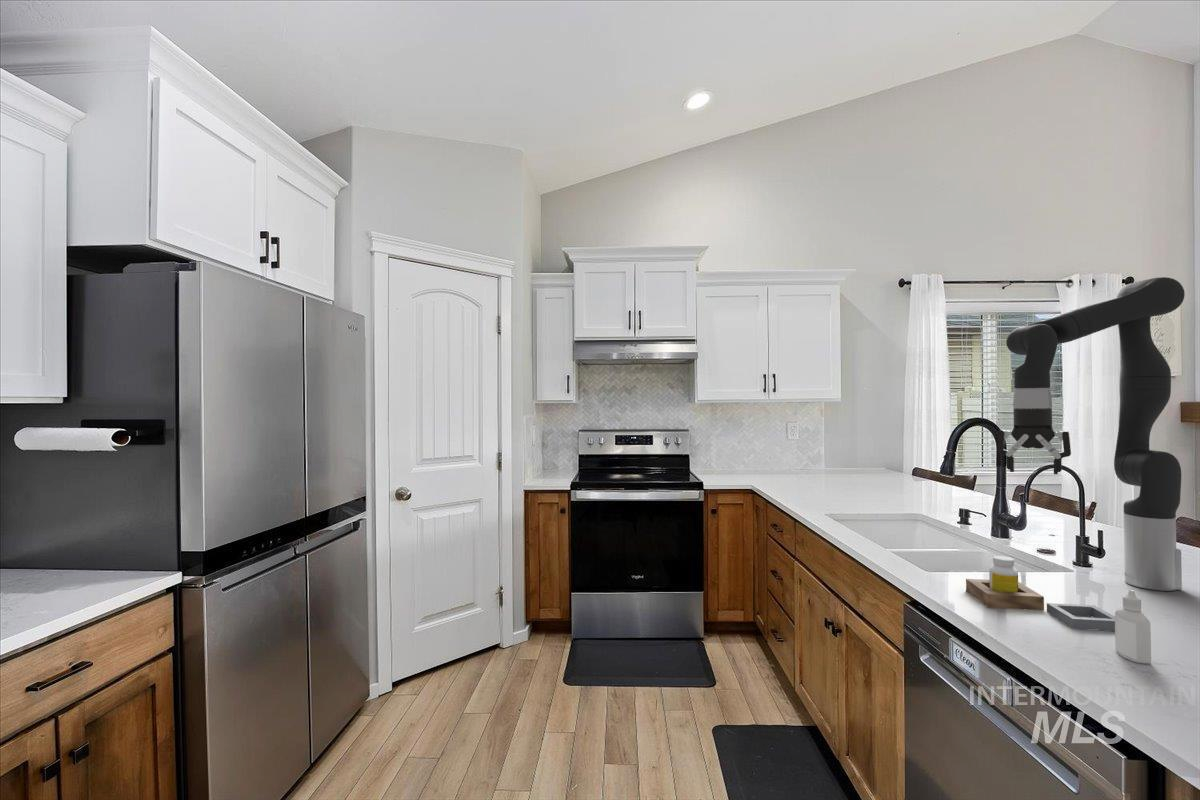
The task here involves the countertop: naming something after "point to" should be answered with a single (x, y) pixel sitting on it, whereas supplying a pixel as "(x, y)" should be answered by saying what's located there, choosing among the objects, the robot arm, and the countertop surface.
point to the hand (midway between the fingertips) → (1033, 472)
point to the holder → (1069, 612)
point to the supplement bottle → (1003, 575)
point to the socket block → (1005, 596)
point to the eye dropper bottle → (1132, 631)
